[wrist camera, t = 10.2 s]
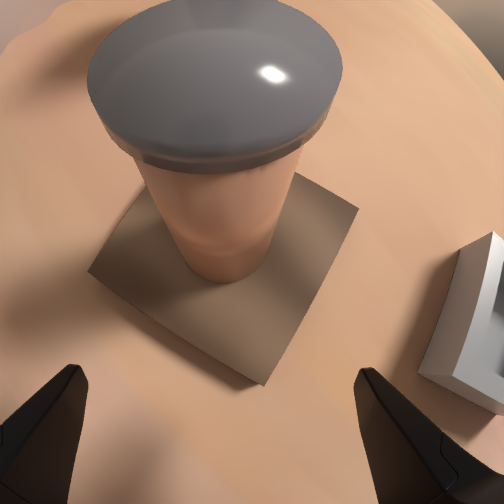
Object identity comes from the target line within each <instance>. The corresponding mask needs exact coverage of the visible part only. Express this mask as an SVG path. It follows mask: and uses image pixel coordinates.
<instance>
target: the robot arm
mask: <svg viewBox="0 0 504 504" xmlns="http://www.w3.org/2000/svg"><path fill="white" fill-rule="evenodd" d="M87 393H88V380H87V378H86V376H85V374H84V372H83V370H82V368H81V366H80V365H75V364H68V365H67V366H66V367H64V368H63V369H62V370H61V371H60V372H59V373H58V374H56V375H55V376H54V377H53V378H52V379H51V380H50V381H49V382H47V383H46V384H45V385H44V386H43V387H42V388H41V389H40V390H38V391H37V392H36V393H35V394H34V395H33V396H32V397H31V398H30V399H28V400H27V401H26V402H25V403H24V404H23V405H22V406H21V407H20V408H19V409H17V410H16V411H15V412H14V413H13V414H12V415H11V416H10V417H9V418H8V419H6V420H5V421H4V422H3V425H2V424H1V425H0V504H67V500H68V494H69V488H70V483H71V477H72V472H73V467H74V462H75V458H76V453H77V448H78V444H79V440H80V435H81V431H82V427H83V421H84V413H85V406H86V399H87ZM354 396H355V402H356V408H357V415H358V422H359V428H360V432H361V436H362V440H363V444H364V447H365V451H366V455H367V459H368V463H369V466H370V470H371V474H372V478H373V482H374V486H375V490H376V494H377V499H378V503H379V504H504V475H502V474H499V473H497V472H495V471H493V470H492V469H490V468H489V467H488V466H486V465H485V464H483V463H482V462H480V461H479V460H478V459H476V458H475V457H473V456H472V455H471V454H469V453H468V452H467V451H465V450H464V449H463V448H461V447H460V446H459V445H458V444H457V443H455V442H454V441H453V440H452V439H451V438H450V437H449V436H447V435H446V434H445V433H444V432H442V430H441V429H440V428H439V427H437V426H436V425H435V424H434V423H433V422H432V421H431V420H430V419H429V418H428V417H427V416H425V415H424V414H423V413H422V412H421V411H420V410H419V409H418V408H417V407H416V406H414V405H413V404H412V403H411V402H410V401H409V400H408V399H407V398H406V397H405V396H404V395H402V394H401V393H400V392H399V391H398V390H397V389H396V388H395V387H394V386H393V385H392V384H390V383H389V382H388V381H387V380H386V379H385V378H384V377H383V376H382V375H381V374H380V373H378V372H377V371H376V370H375V369H374V368H372V367H368V368H361V369H360V370H359V373H358V375H357V378H356V380H355V383H354Z"/></svg>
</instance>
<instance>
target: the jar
mask: <svg viewBox="0 0 504 504" xmlns="http://www.w3.org/2000/svg"><path fill="white" fill-rule="evenodd" d="M342 69H343V68H342V58H341V55H340V52H339V49H338V47H337V45H336V43H335V42H334V40H333V39H332V37H331V36H330V35H329V33H328V32H327V31H326V30H325V29H324V28H323V27H322V26H321V25H320V24H318V23H317V22H316V21H315V20H313V19H312V18H311V17H309V16H307V15H306V14H304V13H303V12H301V11H299V10H297V9H295V8H293V7H291V6H288V5H286V4H283V3H281V2H278V1H274V0H171V1H167V2H164V3H161V4H159V5H156V6H153V7H151V8H149V9H147V10H145V11H143V12H141V13H139V14H137V15H135V16H134V17H132V18H130V19H129V20H127V21H126V22H124V23H123V24H122V25H120V26H119V27H118V28H117V29H115V30H114V31H113V32H112V33H111V34H110V35H109V36H108V37H107V38H106V39H105V40H104V41H103V42H102V44H101V45H100V47H99V48H98V49H97V51H96V53H95V54H94V56H93V58H92V60H91V63H90V66H89V69H88V75H87V87H88V93H89V96H90V98H91V101H92V103H93V105H94V107H95V109H96V111H97V113H98V115H99V117H100V119H101V121H102V123H103V125H104V127H105V129H106V131H107V133H108V134H109V136H110V137H111V139H112V140H113V141H114V142H115V143H116V144H117V145H118V146H119V147H120V148H121V149H122V150H124V151H125V152H126V153H128V154H129V155H130V156H132V157H133V158H134V160H135V162H136V165H137V167H138V169H139V171H140V173H141V175H142V177H143V179H144V181H145V183H146V185H147V187H148V189H149V191H150V193H151V196H152V198H153V200H154V202H155V204H156V206H157V208H158V210H159V212H160V214H161V215H162V217H163V219H164V221H165V223H166V225H167V227H168V229H169V231H170V233H171V235H172V237H173V239H174V241H175V243H176V245H177V246H178V248H179V250H180V252H181V254H182V256H183V258H184V260H185V261H186V263H187V265H188V266H189V267H190V268H191V270H192V271H193V272H195V273H196V274H197V275H198V276H200V277H202V278H203V279H206V280H208V281H211V282H216V283H233V282H237V281H240V280H242V279H244V278H246V277H248V276H250V275H251V274H252V273H254V272H255V271H256V270H257V269H258V267H259V266H260V265H261V264H262V262H263V260H264V258H265V256H266V253H267V250H268V248H269V245H270V242H271V239H272V236H273V233H274V230H275V227H276V225H277V222H278V219H279V216H280V213H281V210H282V207H283V204H284V201H285V198H286V196H287V193H288V190H289V187H290V184H291V181H292V178H293V175H294V172H295V169H296V166H297V163H298V160H299V157H300V154H301V151H302V148H303V145H304V144H305V143H306V142H307V141H309V140H310V139H311V138H312V137H313V136H314V135H315V133H316V132H317V131H318V130H319V129H320V127H321V126H322V124H323V123H324V121H325V119H326V117H327V115H328V112H329V109H330V107H331V104H332V102H333V99H334V96H335V94H336V91H337V88H338V86H339V83H340V80H341V77H342Z"/></svg>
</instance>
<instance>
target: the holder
mask: <svg viewBox="0 0 504 504" xmlns="http://www.w3.org/2000/svg"><path fill="white" fill-rule="evenodd" d="M417 373H418V374H420V375H422V376H424V377H425V378H427V379H429V380H431V381H433V382H435V383H437V384H439V385H440V386H442V387H444V388H446V389H448V390H450V391H452V392H454V393H456V394H457V395H459V396H461V397H463V398H465V399H467V400H469V401H471V402H473V403H475V404H477V405H479V406H481V407H483V408H484V409H486V410H488V411H490V412H492V413H494V414H496V415H502V416H504V240H503V239H502V238H500V237H499V236H498V235H497V234H496V233H495V232H491V233H489V234H487V235H485V236H484V237H482V238H480V239H478V240H476V241H474V242H472V243H470V244H468V245H466V246H464V247H463V248H461V249H460V253H459V257H458V260H457V264H456V267H455V271H454V274H453V278H452V281H451V284H450V287H449V291H448V294H447V297H446V300H445V303H444V306H443V309H442V311H441V314H440V317H439V320H438V322H437V325H436V328H435V330H434V333H433V336H432V338H431V341H430V343H429V346H428V348H427V350H426V353H425V355H424V358H423V360H422V362H421V364H420V367H419V369H418V371H417Z"/></svg>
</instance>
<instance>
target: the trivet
mask: <svg viewBox="0 0 504 504" xmlns="http://www.w3.org/2000/svg"><path fill="white" fill-rule="evenodd" d="M358 210H359V208H357V207H356V206H354V205H352V204H351V203H349V202H347V201H346V200H344V199H342V198H340V197H339V196H337V195H335V194H334V193H332V192H330V191H328V190H327V189H325V188H323V187H321V186H320V185H318V184H316V183H314V182H313V181H311V180H309V179H307V178H305V177H304V176H302V175H300V174H298V173H296V172H294V175H293V178H292V181H291V184H290V187H289V190H288V193H287V196H286V198H285V201H284V204H283V207H282V210H281V213H280V216H279V219H278V222H277V225H276V227H275V230H274V233H273V236H272V239H271V242H270V245H269V248H268V250H267V253H266V256H265V258H264V260H263V262H262V264H261V265H260V266H259V267H258V269H257V270H256V271H255V272H254V273H252V274H251V275H250V276H248V277H246V278H244V279H242V280H240V281H237V282H233V283H216V282H211V281H208V280H206V279H203V278H202V277H200V276H198V275H197V274H196V273H195V272H193V271H192V270H191V268H190V267H189V266H188V265H187V263H186V261H185V260H184V258H183V256H182V254H181V252H180V250H179V248H178V246H177V245H176V243H175V241H174V239H173V237H172V235H171V233H170V231H169V229H168V227H167V225H166V223H165V221H164V219H163V217H162V215H161V214H160V212H159V210H158V208H157V206H156V204H155V202H154V200H153V198H152V196H151V193H150V191H149V189H148V187H147V186H146V188H145V189H144V190H143V192H142V193H141V194H140V196H139V197H138V198H137V200H136V201H135V203H134V204H133V205H132V207H131V208H130V209H129V211H128V212H127V214H126V215H125V216H124V218H123V219H122V221H121V222H120V223H119V225H118V226H117V228H116V229H115V231H114V232H113V233H112V235H111V236H110V238H109V239H108V241H107V242H106V244H105V245H104V247H103V248H102V250H101V251H100V253H99V254H98V256H97V257H96V259H95V261H94V262H93V264H92V265H91V267H90V268H89V270H88V272H89V273H90V274H91V275H93V276H94V277H95V278H96V279H98V280H99V281H100V282H102V283H103V284H104V285H106V286H107V287H108V288H110V289H111V290H112V291H114V292H115V293H117V294H118V295H119V296H121V297H122V298H123V299H125V300H126V301H128V302H129V303H130V304H132V305H133V306H135V307H136V308H138V309H139V310H140V311H142V312H143V313H145V314H146V315H148V316H149V317H151V318H152V319H153V320H155V321H156V322H158V323H159V324H161V325H162V326H164V327H165V328H167V329H168V330H170V331H172V332H173V333H175V334H176V335H178V336H179V337H181V338H182V339H184V340H185V341H187V342H189V343H190V344H192V345H193V346H195V347H197V348H198V349H200V350H201V351H203V352H205V353H206V354H208V355H210V356H211V357H213V358H215V359H216V360H218V361H220V362H221V363H223V364H225V365H227V366H228V367H230V368H232V369H233V370H235V371H237V372H239V373H240V374H242V375H244V376H246V377H247V378H249V379H251V380H253V381H255V382H257V383H258V384H260V385H262V386H264V385H265V384H266V382H267V380H268V379H269V377H270V375H271V374H272V372H273V370H274V369H275V367H276V365H277V364H278V362H279V360H280V359H281V357H282V355H283V353H284V352H285V350H286V348H287V346H288V345H289V343H290V341H291V339H292V338H293V336H294V334H295V332H296V331H297V329H298V327H299V325H300V323H301V322H302V320H303V318H304V316H305V314H306V313H307V311H308V309H309V307H310V305H311V303H312V301H313V300H314V298H315V296H316V294H317V292H318V290H319V288H320V286H321V284H322V283H323V281H324V279H325V277H326V275H327V273H328V271H329V269H330V267H331V265H332V263H333V261H334V259H335V257H336V255H337V253H338V251H339V249H340V247H341V245H342V243H343V241H344V239H345V237H346V235H347V233H348V231H349V229H350V227H351V225H352V222H353V220H354V218H355V216H356V214H357V212H358Z"/></svg>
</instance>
